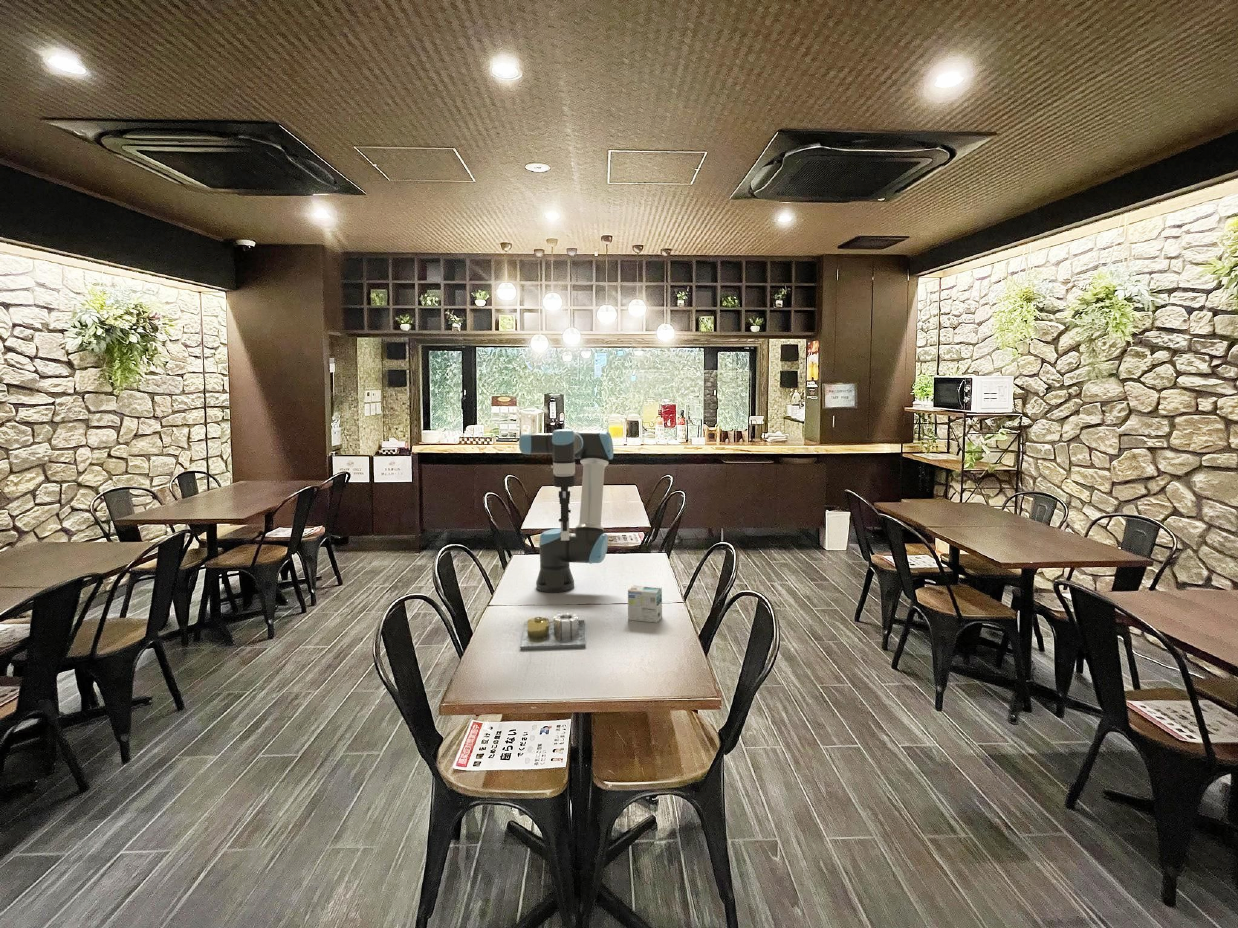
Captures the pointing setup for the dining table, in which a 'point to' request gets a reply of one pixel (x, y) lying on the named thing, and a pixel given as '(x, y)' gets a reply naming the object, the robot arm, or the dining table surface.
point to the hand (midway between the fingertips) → (565, 535)
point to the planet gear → (566, 624)
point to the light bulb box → (645, 603)
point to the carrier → (549, 636)
